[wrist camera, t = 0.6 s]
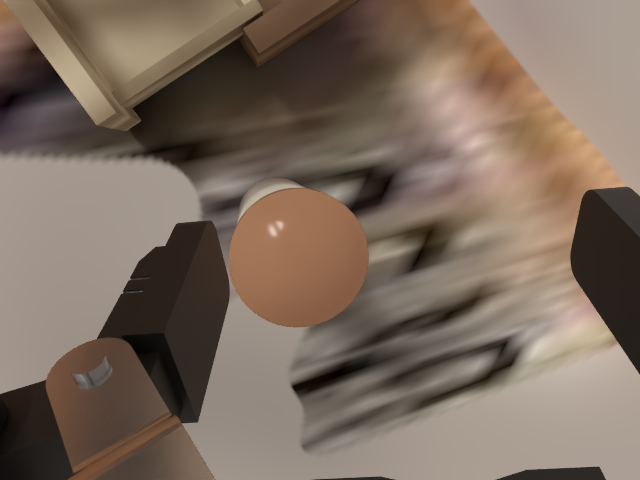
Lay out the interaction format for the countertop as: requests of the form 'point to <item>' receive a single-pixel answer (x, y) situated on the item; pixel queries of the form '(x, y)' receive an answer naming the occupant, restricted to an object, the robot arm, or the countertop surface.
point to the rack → (286, 25)
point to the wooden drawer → (129, 45)
